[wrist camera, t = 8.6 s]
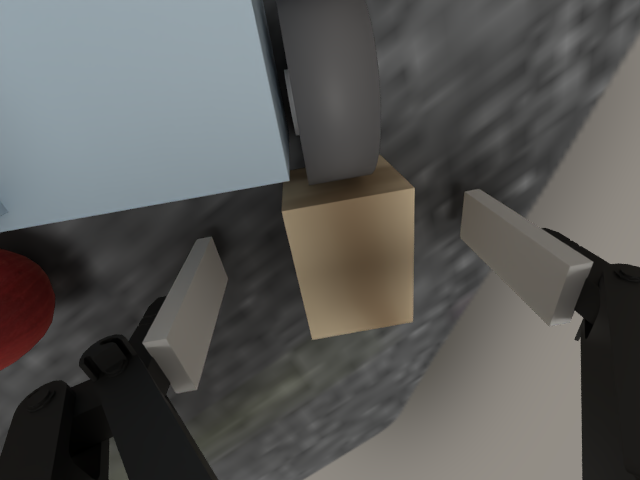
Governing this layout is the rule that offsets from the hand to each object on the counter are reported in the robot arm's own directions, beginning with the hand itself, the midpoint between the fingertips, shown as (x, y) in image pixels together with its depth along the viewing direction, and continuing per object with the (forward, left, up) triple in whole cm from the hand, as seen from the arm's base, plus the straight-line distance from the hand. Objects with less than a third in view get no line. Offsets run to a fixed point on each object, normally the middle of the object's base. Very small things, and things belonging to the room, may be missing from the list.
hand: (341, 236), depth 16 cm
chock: (0, 0, -2) cm, 2 cm away
